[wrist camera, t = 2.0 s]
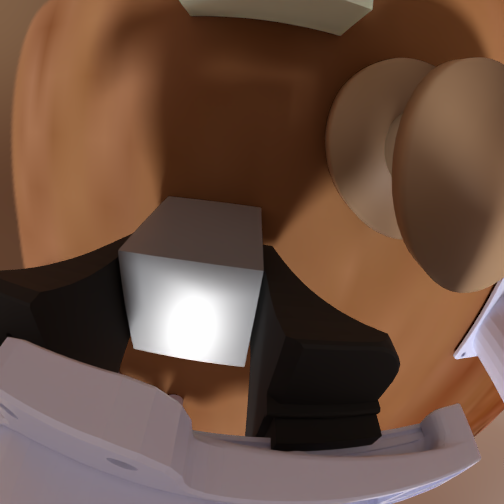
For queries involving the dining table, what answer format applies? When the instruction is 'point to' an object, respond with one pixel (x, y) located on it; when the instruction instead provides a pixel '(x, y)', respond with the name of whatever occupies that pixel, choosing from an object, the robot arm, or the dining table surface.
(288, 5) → the pale green flanged block
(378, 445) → the robot arm
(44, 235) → the dining table surface
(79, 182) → the dining table surface
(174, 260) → the gray metal block
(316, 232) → the dining table surface
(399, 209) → the tan rounded lump
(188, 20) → the dining table surface
